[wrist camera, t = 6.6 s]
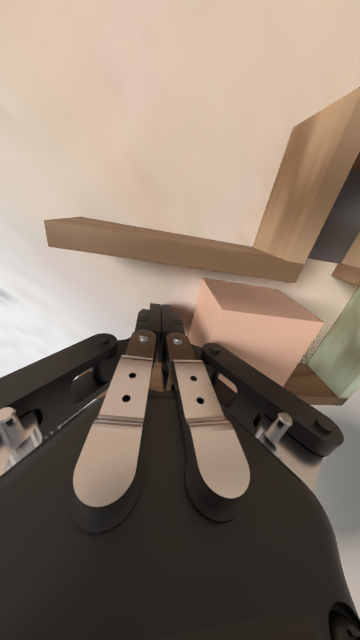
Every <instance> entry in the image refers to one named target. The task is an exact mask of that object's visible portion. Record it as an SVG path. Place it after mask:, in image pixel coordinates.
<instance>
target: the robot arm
mask: <svg viewBox="0 0 360 640" xmlns="http://www.w3.org/2000/svg"><path fill="white" fill-rule="evenodd" d="M157 355H158V360H157ZM154 362H158V363H161V372H160V374H161V384H162V392H160V391H156V390H152V389H149V388H150V381H151V374H152V369H153V367H154ZM90 368H91V370H90V371H88V372H87V373H85V374H83V375H82V376H80V377H78V378H77V379H75V378H76V377H77V376H78V375H80V374H82V373H83V372H85V371H87V370H88V369H90ZM219 374H222V375H223V376H224V377H226V378H227V379H228V380H229V381H231V382H232V383H233V384H234V385H235V386H236V388H237V393H236V392H235V391H233V390H232V389H231V388H230V387H228V386H227V385H226V384H225V383H223V382H222V381H221V380H220V379H218V377H219ZM74 379H75V380H74ZM73 380H74V381H73ZM108 388H109V389H108ZM107 389H108V391H107V394H106V395H105V396H103V397H101V398H99V399H97V400H95V401H94V402H92V403H91V404H89V405H88V406H87V407H86V408H84V409H83V410H82V411H81V412H79V413H78V414H77V415H76V416H74V417H73V418H72V419H71V420H69V421H68V422H67V423H66V424H64V425H63V426H62V427H61V428H59V429H58V430H57V431H56V432H55V433H53V434H52V435H51V436H50V437H48V438H47V439H46V440H45V441H43V442H42V438H43V437H45V436H46V435H47V434H49V433H50V432H51V431H52V430H54V429H55V428H56V427H58V426H59V425H60V424H62V423H63V422H64V421H66V420H67V419H68V418H70V417H71V416H72V415H74V414H75V413H76V412H78V411H79V410H80V409H82V408H83V407H84V406H86V405H87V404H88V403H90V402H91V401H92V400H94V399H95V398H96V397H98V396H99V395H100V394H102V393H103V392H104V391H106V390H107ZM343 440H344V437H343V434H342V432H341V430H340V429H339V427H338V426H337V425H336V424H335V423H334V422H333V421H332V420H331V419H330V418H328V417H327V416H325V415H324V414H322V413H321V412H319V411H318V410H316V409H315V408H313V407H312V406H310V405H309V404H308V403H306V402H305V401H303V400H302V399H300V398H299V397H297V396H296V395H294V394H293V393H291V392H290V391H288V390H287V389H285V388H284V387H282V386H281V385H279V384H278V383H276V382H275V381H273V380H272V379H270V378H269V377H267V376H266V375H264V374H263V373H261V372H260V371H258V370H257V369H255V368H254V367H252V366H251V365H249V364H248V363H246V362H245V361H243V360H242V359H240V358H239V357H237V356H236V355H234V354H233V353H231V352H230V351H228V350H227V349H225V348H224V347H222V346H221V345H219V344H216V343H206V344H204V346H203V348H202V347H199V346H195V345H193V344H191V343H190V340H189V338H188V337H187V336H186V335H185V333H184V328H183V323H182V318H181V316H180V315H179V314H178V313H174V312H172V307H171V306H170V305H161V304H152V303H151V304H150V310H146V309H142V310H141V311H140V312H139V313H138V318H137V323H136V328H135V332H133V333H132V336H131V337H130V338H128V339H125V340H119V341H117V339H116V337H115V336H113V335H111V334H106V333H103V334H97V335H94V336H92V337H90V338H87V339H85V340H83V341H81V342H79V343H76V344H74V345H72V346H70V347H68V348H65V349H63V350H61V351H59V352H57V353H54V354H52V355H50V356H48V357H46V358H43V359H41V360H39V361H37V362H35V363H32V364H30V365H28V366H26V367H24V368H21V369H19V370H17V371H15V372H13V373H10V374H8V375H6V376H4V377H2V378H0V640H360V618H359V616H358V614H357V611H356V609H355V606H354V603H353V601H352V598H351V595H350V592H349V589H348V586H347V583H346V580H345V577H344V573H343V569H342V566H341V562H340V557H339V552H338V547H337V542H336V538H335V535H334V532H333V528H332V526H331V523H330V521H329V519H328V517H327V515H326V513H325V511H324V509H323V507H322V505H321V504H320V502H319V501H318V499H317V498H316V496H315V495H314V493H313V491H314V488H315V484H316V481H317V477H318V473H319V470H320V467H321V463H322V461H323V460H324V459H325V458H326V457H327V456H328V455H329V454H331V453H332V452H333V451H334V450H335V449H336V448H337V447H339V445H341V444H342V443H343ZM41 442H42V443H41Z"/></svg>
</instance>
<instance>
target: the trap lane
mask: <svg viewBox="0 0 360 640" xmlns="http://www.w3.org/2000/svg"><path fill="white" fill-rule="evenodd" d="M44 223H45V229H46V235H47V241H48V246H49V247H56V248H62V249H69V250H76V251H83V252H90V253H96V254H103V255H110V256H117V257H123V258H130V259H137V260H144V261H151V262H157V263H164V264H171V265H178V266H185V267H191V268H198V269H205V270H212V271H219V272H225V273H232V274H239V275H246V276H253V277H259V278H266V279H273V280H280V281H287V282H293V283H295V282H296V280H297V278H298V276H299V274H300V272H301V270H302V268H303V266H304V264H305V262H306V260H307V258H308V257H310V258H316V259H321V260H327V261H333V262H339V263H338V265H337V267H336V268H335V270H334V272H333V274H332V276H334V277H337V278H340V279H342V280H345V281H347V282H350V283H353V284H355V285H358V286H359V288H358V289H357V291H356V292H355V294H354V295H353V297H352V298H351V300H350V301H349V303H348V304H347V306H346V307H345V309H344V310H343V312H342V313H341V315H340V316H339V318H338V319H337V320H336V322H335V323H334V325H333V326H332V328H331V329H330V331H329V332H328V334H327V335H326V337H325V338H324V340H323V341H322V343H321V344H320V346H319V347H318V349H317V350H316V352H315V353H314V355H313V356H312V358H311V359H310V361H309V362H308V364H298V365H297V366H296V368H295V369H294V371H293V372H292V374H291V375H290V377H289V378H288V380H287V381H286V383H285V384H284V386H283V387H284V388H285V389H287V390H288V391H290V392H291V393H293V394H294V395H296V396H297V397H299V398H300V399H302V400H303V401H305V402H306V403H308V404H309V405H343V404H344V403H345V402H346V400H347V399H348V398H349V397H350V396H351V395H352V394H353V393H354V392H355V391H356V390H357V389H358V387H359V386H360V87H359V88H357V89H356V90H354V91H352V92H351V93H349V94H348V95H346V96H344V97H343V98H341V99H339V100H338V101H336V102H334V103H333V104H331V105H330V106H328V107H326V108H325V109H323V110H321V111H320V112H318V113H316V114H315V115H313V116H312V117H310V118H308V119H307V120H305V121H303V122H302V123H300V124H298V125H297V126H295V127H294V128H293V130H292V133H291V136H290V139H289V142H288V145H287V148H286V151H285V154H284V157H283V160H282V163H281V165H280V168H279V171H278V174H277V177H276V180H275V183H274V186H273V189H272V192H271V195H270V198H269V201H268V204H267V207H266V210H265V212H264V215H263V218H262V221H261V224H260V227H259V230H258V233H257V236H256V239H255V242H254V245H253V247H249V246H243V245H238V244H232V243H226V242H220V241H215V240H209V239H203V238H198V237H192V236H186V235H181V234H175V233H169V232H163V231H158V230H152V229H146V228H141V227H135V226H129V225H124V224H118V223H112V222H106V221H101V220H95V219H89V218H84V217H74V218H63V219H53V220H44ZM157 360H158V355H157ZM90 370H91V368H90V369H88V370H87V371H85V372H83V373H82V374H80V375H79V376H78V377H80V376H82V375H83V374H85V373H87V372H88V371H90ZM160 372H161V363H158V362H154V367H153V369H152V374H151V381H150V388H149V389H152V390H156V391H160V392H162V384H161V374H160ZM108 389H109V388H108ZM108 389H107V390H106V391H104V392H103V393H102V394H100V395H99V396H98V397H96V398H95V399H99V398H101V397H103V396H105V395H106V394H107V391H108Z"/></svg>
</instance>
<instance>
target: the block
mask: <svg viewBox="0 0 360 640" xmlns="http://www.w3.org/2000/svg"><path fill="white" fill-rule="evenodd" d="M324 323H325V322H323V321H322V320H320V319H319V318H317V317H316V316H314V315H313V314H311V313H310V312H308V311H307V310H306V309H304V308H303V307H301V306H300V305H298V304H297V303H295V302H294V301H292V300H291V299H290V298H288V297H287V296H285V295H284V294H282V293H281V292H279V291H278V290H276V289H270V288H264V287H257V286H251V285H244V284H238V283H231V282H224V281H218V280H211V279H205V278H202V282H201V286H200V290H199V294H198V298H197V302H196V307H195V311H194V315H193V319H192V323H191V327H190V331H189V335H188V338H189V340H190V343H191V344H193V345H195V346H199V347H202V348H203V346H204V344H206V343H216V344H219V345H221V346H222V347H224V348H225V349H227V350H228V351H230V352H231V353H233V354H234V355H236V356H237V357H239V358H240V359H242V360H243V361H245V362H246V363H248V364H249V365H251V366H252V367H254V368H255V369H257V370H258V371H260V372H261V373H263V374H264V375H266V376H267V377H269V378H270V379H272V380H273V381H275V382H276V383H278V384H279V385H281V386H282V387H283V386H284V384H285V383H286V381H287V380H288V378H289V377H290V375H291V374H292V372H293V371H294V369H295V368H296V366H297V365H298V363H299V361H300V360H301V358H302V357H303V355H304V354H305V352H306V351H307V349H308V348H309V346H310V345H311V343H312V342H313V340H314V339H315V337H316V336H317V334H318V333H319V331H320V329H321V328H322V326H323V325H324ZM218 379H220V380H221V381H222V382H223V383H225V384H226V385H227V386H228V387H230V388H231V389H232V390H233V391H235V392H236V393H237V388H236V386H235V385H234V384H233V383H232V382H231V381H229V380H228V379H227V378H226V377H224V376H223V375H222V374H219V377H218Z"/></svg>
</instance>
